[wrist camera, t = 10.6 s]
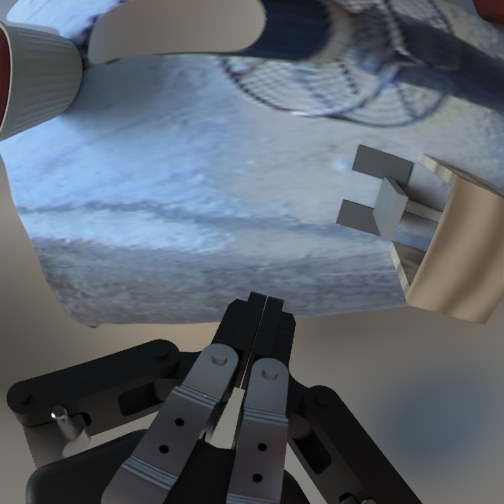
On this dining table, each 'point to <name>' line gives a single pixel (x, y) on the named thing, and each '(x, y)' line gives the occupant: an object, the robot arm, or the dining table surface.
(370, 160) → the pit pad
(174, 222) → the dining table surface
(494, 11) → the plant pot
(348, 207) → the plate
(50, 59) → the canister
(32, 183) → the dining table surface
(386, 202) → the grey elongated piece
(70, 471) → the robot arm
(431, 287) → the tunnel
